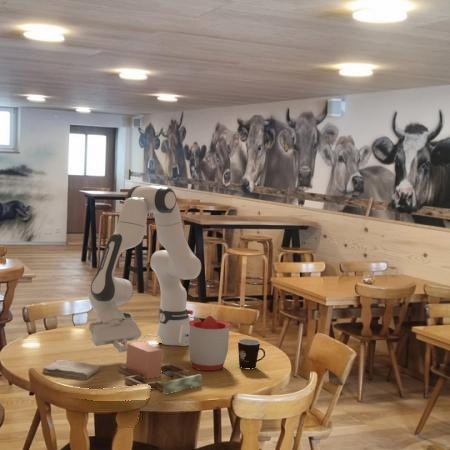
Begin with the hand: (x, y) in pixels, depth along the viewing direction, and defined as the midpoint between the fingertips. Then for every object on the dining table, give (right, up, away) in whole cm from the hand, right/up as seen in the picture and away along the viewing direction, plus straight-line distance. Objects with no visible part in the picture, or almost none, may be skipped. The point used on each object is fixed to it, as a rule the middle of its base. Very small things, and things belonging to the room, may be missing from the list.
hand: (123, 351), depth 257 cm
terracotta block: (+8, -7, -8) cm, 13 cm away
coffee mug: (+47, -8, +6) cm, 48 cm away
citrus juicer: (+31, -7, +5) cm, 32 cm away
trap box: (+13, -7, -13) cm, 20 cm away
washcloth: (-17, -6, -11) cm, 21 cm away
